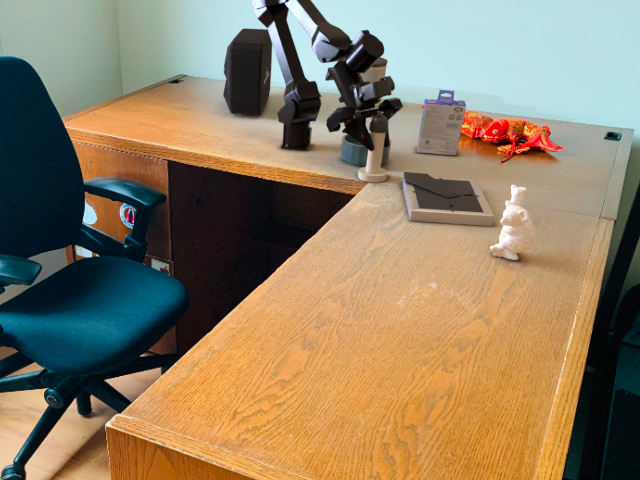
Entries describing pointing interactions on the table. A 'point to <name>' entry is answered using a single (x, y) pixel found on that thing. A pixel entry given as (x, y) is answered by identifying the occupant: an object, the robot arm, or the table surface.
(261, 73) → the black hard case
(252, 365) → the table surface
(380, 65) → the coffee can
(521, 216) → the white animal figurine
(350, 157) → the bowl
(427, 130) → the ink cartridge box
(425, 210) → the picture frame
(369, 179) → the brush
